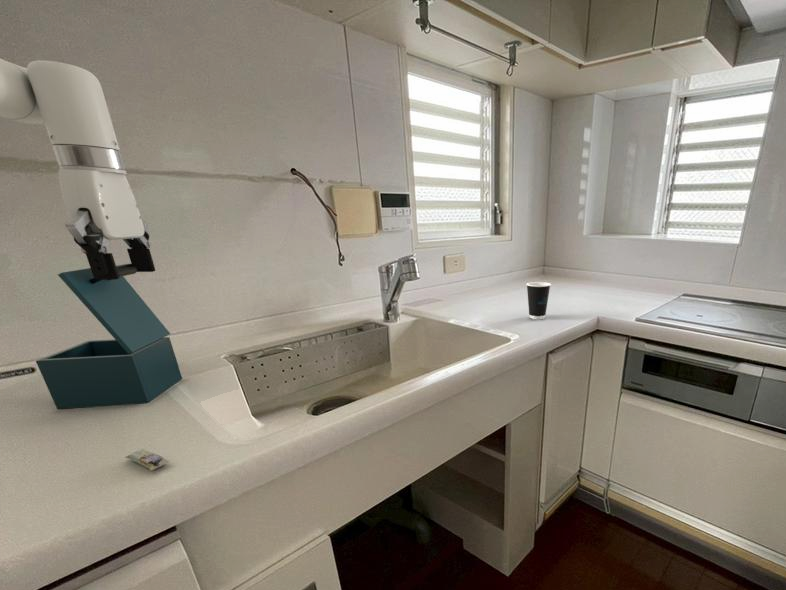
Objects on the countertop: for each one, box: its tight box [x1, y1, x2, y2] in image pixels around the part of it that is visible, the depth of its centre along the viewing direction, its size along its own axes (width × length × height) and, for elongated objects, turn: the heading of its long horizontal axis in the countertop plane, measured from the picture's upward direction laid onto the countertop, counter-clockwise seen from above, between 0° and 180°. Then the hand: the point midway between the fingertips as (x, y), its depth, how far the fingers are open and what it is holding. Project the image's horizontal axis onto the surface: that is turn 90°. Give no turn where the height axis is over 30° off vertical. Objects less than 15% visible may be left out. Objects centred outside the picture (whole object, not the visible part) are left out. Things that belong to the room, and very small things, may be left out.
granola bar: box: [124, 448, 171, 471], centre depth 53 cm, size 7×2×1 cm, turn 64°
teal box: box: [35, 336, 183, 410], centre depth 73 cm, size 14×12×9 cm
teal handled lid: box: [57, 263, 171, 354], centre depth 70 cm, size 14×12×6 cm
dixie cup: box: [525, 281, 552, 320], centre depth 130 cm, size 8×8×11 cm
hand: (127, 275), depth 68 cm, fingers open, 9 cm apart
